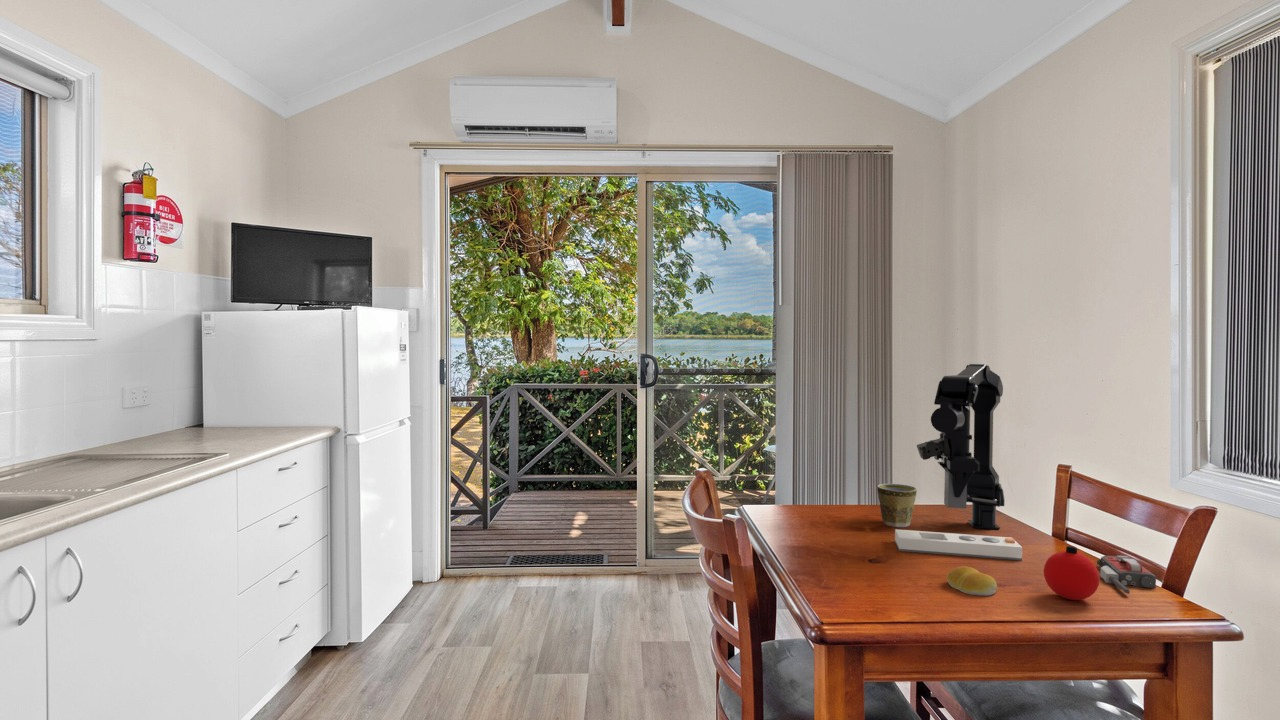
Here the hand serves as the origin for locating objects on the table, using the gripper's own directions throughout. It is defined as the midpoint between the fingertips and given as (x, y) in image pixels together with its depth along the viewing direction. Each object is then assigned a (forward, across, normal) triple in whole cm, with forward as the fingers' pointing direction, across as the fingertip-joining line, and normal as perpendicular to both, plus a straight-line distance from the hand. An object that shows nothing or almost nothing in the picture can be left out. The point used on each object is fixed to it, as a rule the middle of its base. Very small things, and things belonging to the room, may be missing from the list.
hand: (954, 495), depth 159 cm
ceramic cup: (+13, -23, -10) cm, 28 cm away
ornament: (+13, +28, +15) cm, 34 cm away
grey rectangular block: (+2, 0, 0) cm, 3 cm away
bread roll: (+14, +26, -2) cm, 30 cm away
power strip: (+13, +1, 0) cm, 13 cm away
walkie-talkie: (+14, +15, +30) cm, 36 cm away
